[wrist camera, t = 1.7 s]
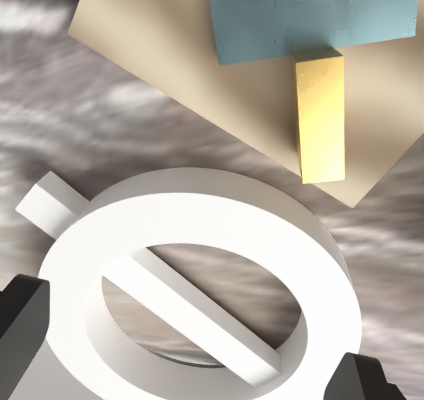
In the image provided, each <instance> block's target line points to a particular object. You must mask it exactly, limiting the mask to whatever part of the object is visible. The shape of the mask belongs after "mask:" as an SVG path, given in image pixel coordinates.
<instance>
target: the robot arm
mask: <svg viewBox="0 0 424 400" xmlns="http://www.w3.org/2000/svg"><path fill="white" fill-rule="evenodd" d="M49 322H50V282H49V281H48V280H44V279H40V278H36V277H31V276H27V275H23V274H18V275H17V276H15V277H14V278H13V279H12V281H11V282H10V283H9V284H8V285H7V286H6V288H5V289H4V290H3V291H0V400H8V399H9V397H10V396H11V394H12V392H13V391H14V389H15V387H16V386H17V384H18V383H19V381H20V379H21V378H22V376H23V374H24V373H25V371H26V370H27V368H28V366H29V365H30V363H31V361H32V359H33V358H34V357H35V355H36V353H37V352H38V350H39V348H40V347H41V345H42V343H43V341H44V339H45V337H46V334H47V331H48V328H49ZM323 400H406V398H405V397H404V396H403V394H402V393H401V392H400V390H399V389H398V387H397V386H396V385H395V384H391V383H387V381H386V378H385V375H384V372H383V369H382V366H381V364H380V362H379V360H378V359H376V358H372V357H368V356H364V355H359V354H355V353H351V352H347V353H345V354H344V356H343V357H342V359H341V361H340V363H339V364H338V366H337V368H336V370H335V372H334V373H333V375H332V377H331V379H330V381H329V382H328V384H327V386H326V388H325V392H324V396H323Z"/></svg>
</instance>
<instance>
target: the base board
mask: <svg viewBox="0 0 424 400" xmlns="http://www.w3.org/2000/svg"><path fill="white" fill-rule="evenodd" d="M68 34H69V35H70V36H72V37H74V38H75V39H77V40H78V41H80V42H82V43H83V44H85V45H87V46H88V47H90V48H91V49H93V50H95V51H96V52H98V53H100V54H101V55H103V56H105V57H106V58H108V59H109V60H111V61H113V62H114V63H116V64H118V65H119V66H121V67H122V68H124V69H126V70H127V71H129V72H131V73H132V74H134V75H136V76H137V77H139V78H140V79H142V80H144V81H145V82H147V83H149V84H150V85H152V86H153V87H155V88H157V89H158V90H160V91H162V92H163V93H165V94H166V95H168V96H170V97H171V98H173V99H175V100H176V101H178V102H180V103H181V104H183V105H184V106H186V107H188V108H189V109H191V110H193V111H194V112H196V113H197V114H199V115H201V116H202V117H204V118H206V119H207V120H209V121H211V122H212V123H214V124H215V125H217V126H219V127H220V128H222V129H224V130H225V131H227V132H228V133H230V134H232V135H233V136H235V137H237V138H238V139H240V140H242V141H243V142H245V143H246V144H248V145H250V146H251V147H253V148H255V149H256V150H258V151H259V152H261V153H263V154H264V155H266V156H268V157H269V158H271V159H273V160H274V161H276V162H277V163H279V164H281V165H282V166H284V167H286V168H287V169H289V170H290V171H292V172H294V173H295V174H297V175H299V176H300V177H301V173H300V168H299V164H298V159H297V147H296V131H295V116H294V101H293V85H292V70H291V55H287V56H281V57H274V58H268V59H261V60H255V61H248V62H242V63H235V64H228V65H222V66H219V62H218V56H217V49H216V42H215V36H214V29H213V22H212V15H211V9H210V2H209V0H79V3H78V6H77V9H76V11H75V14H74V17H73V20H72V23H71V25H70V28H69V31H68ZM335 49H336V50H337V51H338V52H340V53H341V54H342V55H343V56H344V180H334V181H324V182H313V183H312V184H313V185H315V186H317V187H318V188H320V189H321V190H323V191H325V192H326V193H328V194H330V195H331V196H333V197H334V198H336V199H338V200H339V201H341V202H343V203H344V204H346V205H348V206H349V207H351V208H353V207H354V206H355V205H356V204H357V203H358V202H359V201H360V200H361V199H362V198H363V197H364V196H365V195H366V194H367V192H368V191H369V190H370V189H371V188H372V187H373V186H374V185H375V184H376V183H377V182H378V181H379V180H380V179H381V178H382V177H383V175H384V174H385V173H386V172H387V171H388V170H389V169H390V168H391V167H392V166H393V165H394V164H395V163H396V162H397V161H398V160H399V158H400V157H401V156H402V155H403V154H404V153H405V152H406V151H407V150H408V149H409V148H410V147H411V146H412V145H413V144H414V143H415V141H416V140H417V139H418V138H419V137H420V136H421V135H422V134H423V133H424V0H418V4H417V17H416V31H415V36H411V37H405V38H398V39H392V40H385V41H379V42H372V43H366V44H359V45H353V46H346V47H340V48H335Z"/></svg>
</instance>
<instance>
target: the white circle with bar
mask: <svg viewBox="0 0 424 400" xmlns="http://www.w3.org/2000/svg"><path fill="white" fill-rule="evenodd" d="M15 210H16V211H18V212H19V213H20V214H22V215H23V216H24V217H26V218H27V219H28V220H30V221H31V222H32V223H34V224H35V225H36V226H38V227H39V228H40V229H42V230H43V231H44V232H46V233H47V234H49V235H50V236H51V237H53V238H54V239H55V240H56V242H55V243H54V244H53V246H52V247H51V248H50V250H49V252H48V253H47V255H46V257H45V259H44V261H43V263H42V266H41V268H40V271H39V275H38V278H40V279H44V280H48V281H49V282H50V322H49V328H48V331H47V334H46V340H47V342H48V343H49V345H50V347H51V349H52V350H53V352H54V353H55V354H56V356H57V357H58V359H59V360H60V361H61V362H62V364H63V365H64V366H65V367H66V368H67V370H68V371H70V373H71V374H72V375H73V376H75V378H76V379H78V380H79V381H80V382H81V383H82V384H83V385H85V386H86V387H87V388H88V389H90V390H91V391H93V392H94V393H95V394H97V395H99V396H100V397H101V398H103V399H104V400H323V396H324V392H325V388H326V386H327V384H328V382H329V381H330V379H331V377H332V375H333V373H334V372H335V370H336V368H337V366H338V364H339V363H340V361H341V359H342V357H343V356H344V354H345V353H347V352H351V353H355V354H358V351H359V348H360V343H361V335H362V322H361V314H360V308H359V304H358V301H357V297H356V294H355V291H354V288H353V285H352V281H351V278H350V275H349V272H348V268H347V265H346V263H345V260H344V257H343V255H342V253H341V251H340V248H339V247H338V245H337V243H336V241H335V240H334V238H333V237H332V235H331V234H330V232H329V231H328V230H327V229H326V227H325V226H324V225H323V224H322V223H321V222H320V221H319V220H318V219H317V218H316V216H315V215H313V214H312V213H311V212H310V211H309V210H308V209H307V208H305V207H304V206H303V205H302V204H300V203H299V202H298V201H296V200H295V199H293V198H292V197H290V196H289V195H287V194H285V193H284V192H282V191H280V190H278V189H276V188H274V187H272V186H270V185H268V184H266V183H263V182H261V181H259V180H256V179H253V178H250V177H247V176H244V175H241V174H237V173H233V172H228V171H223V170H217V169H210V168H197V167H181V168H168V169H161V170H155V171H150V172H146V173H142V174H139V175H136V176H133V177H130V178H127V179H125V180H123V181H120V182H118V183H116V184H114V185H112V186H111V187H109V188H107V189H106V190H104V191H102V192H101V193H99V194H98V195H97V196H96V197H94V198H93V199H92V200H91V201H88V200H87V199H86V198H84V197H83V196H82V195H81V194H79V193H78V192H77V191H76V190H74V189H73V188H72V187H71V186H69V185H68V184H67V183H66V182H64V181H63V180H62V179H61V178H59V177H58V176H57V175H56V174H54V173H53V172H52V171H51V170H50V171H49V172H48V173H47V174H46V175H45V176H44V177H42V178H41V179H40V180H39V181H38V182H37V183H36V184H35V185H34V186H33V187H32V189H31V190H30V191H29V192H28V194H27V195H26V196H25V197H24V199H23V200H22V201H21V202H20V204H19V205H18V206H17V207H16V209H15ZM169 243H192V244H201V245H208V246H213V247H217V248H221V249H225V250H228V251H231V252H234V253H237V254H239V255H242V256H244V257H246V258H248V259H250V260H252V261H254V262H256V263H258V264H259V265H261V266H263V267H264V268H266V269H267V270H269V271H270V272H271V273H273V274H274V275H275V276H276V277H278V278H279V279H280V280H281V281H282V282H283V283H284V284H285V285H286V286H287V287H288V288H289V290H290V291H291V292H292V293H293V295H294V296H295V298H296V299H297V301H298V303H299V304H300V306H301V308H302V312H301V316H300V319H299V321H298V324H297V326H296V328H295V329H294V331H293V333H292V334H291V335H290V337H289V338H288V339H287V340H286V341H285V342H284V343H283V344H282V345H281V346H280V347H278V348H277V349H276V350H274V349H273V348H271V347H270V346H269V345H268V344H266V343H265V342H264V341H263V340H261V339H260V338H259V337H258V336H256V335H255V334H254V333H253V332H251V331H250V330H249V329H248V328H246V327H245V326H244V325H243V324H241V323H240V322H239V321H237V320H236V319H235V318H234V317H232V316H231V315H230V314H229V313H227V312H226V311H225V310H224V309H222V308H221V307H220V306H219V305H217V304H216V303H215V302H214V301H212V300H211V299H210V298H209V297H207V296H206V295H205V294H204V293H202V292H201V291H200V290H199V289H197V288H196V287H195V286H193V285H192V284H191V283H190V282H188V281H187V280H186V279H185V278H183V277H182V276H181V275H180V274H178V273H177V272H176V271H175V270H173V269H172V268H171V267H170V266H168V265H167V264H166V263H165V262H163V261H162V260H161V259H160V258H158V257H157V256H156V255H154V254H153V253H152V252H151V251H149V250H148V249H147V248H146V247H149V246H153V245H160V244H169ZM102 275H104V276H105V277H106V278H108V279H109V280H110V281H112V282H113V283H115V284H116V285H117V286H119V287H120V288H121V289H123V290H124V291H125V292H127V293H128V294H129V295H131V296H132V297H133V298H135V299H136V300H137V301H139V302H140V303H141V304H143V305H144V306H145V307H147V308H148V309H150V310H151V311H152V312H154V313H155V314H156V315H158V316H159V317H160V318H162V319H163V320H164V321H166V322H167V323H168V324H170V325H171V326H172V327H174V328H175V329H176V330H178V331H179V332H180V333H182V334H183V335H185V336H186V337H187V338H189V339H190V340H191V341H193V342H194V343H195V344H197V345H198V346H199V347H201V348H202V349H203V350H205V351H206V352H207V353H209V354H210V355H211V356H213V357H214V358H216V359H217V360H218V361H220V362H221V363H222V364H224V365H225V366H221V365H204V364H195V363H189V362H184V361H180V360H176V359H173V358H170V357H168V356H165V355H163V354H160V353H157V352H153V351H147V350H146V349H144V348H142V347H141V346H139V345H138V344H137V343H135V342H134V341H133V340H131V339H130V338H129V337H128V336H127V335H126V334H125V333H124V332H123V331H122V330H121V329H120V328H119V326H118V325H117V324H116V323H115V321H114V320H113V318H112V317H111V315H110V313H109V311H108V309H107V307H106V304H105V302H104V298H103V294H102V287H101V277H102Z"/></svg>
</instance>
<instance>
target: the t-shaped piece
mask: <svg viewBox="0 0 424 400" xmlns="http://www.w3.org/2000/svg"><path fill="white" fill-rule="evenodd" d="M209 2H210V9H211V15H212V22H213V29H214V36H215V42H216V49H217V56H218V62H219V66H222V65H228V64H235V63H242V62H248V61H255V60H261V59H268V58H274V57H281V56H287V55H291V70H292V85H293V101H294V116H295V131H296V147H297V159H298V164H299V168H300V173H301V177H302V182H303V183H313V182H324V181H334V180H344V56H343V55H342V54H341V53H340V52H338V51H337V50H336V49H335V48H340V47H346V46H353V45H359V44H366V43H372V42H379V41H385V40H392V39H398V38H405V37H411V36H415V31H416V17H417V4H418V0H209Z"/></svg>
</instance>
